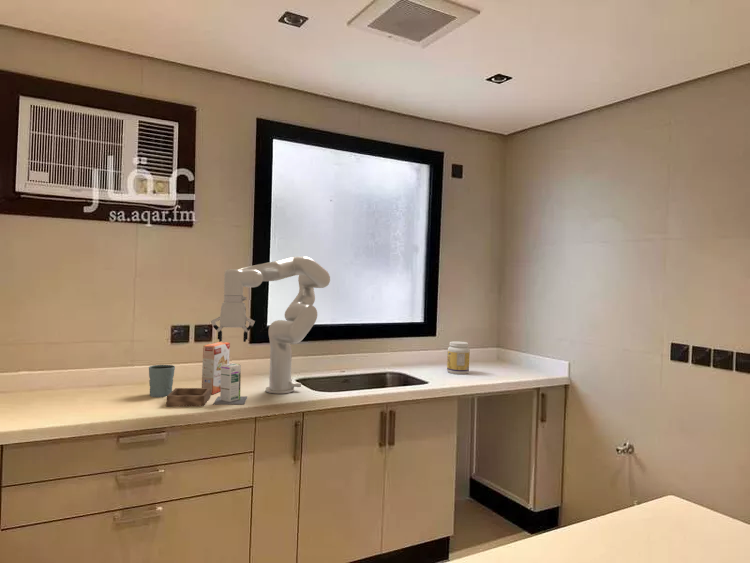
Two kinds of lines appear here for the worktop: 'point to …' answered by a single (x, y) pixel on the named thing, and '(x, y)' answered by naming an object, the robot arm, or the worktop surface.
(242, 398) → the grey mat
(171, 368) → the teal cup
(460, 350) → the supplement tub
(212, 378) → the cracker box
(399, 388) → the worktop surface
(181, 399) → the walnut box
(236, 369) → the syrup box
